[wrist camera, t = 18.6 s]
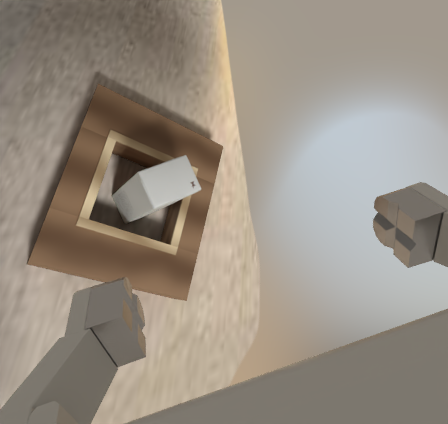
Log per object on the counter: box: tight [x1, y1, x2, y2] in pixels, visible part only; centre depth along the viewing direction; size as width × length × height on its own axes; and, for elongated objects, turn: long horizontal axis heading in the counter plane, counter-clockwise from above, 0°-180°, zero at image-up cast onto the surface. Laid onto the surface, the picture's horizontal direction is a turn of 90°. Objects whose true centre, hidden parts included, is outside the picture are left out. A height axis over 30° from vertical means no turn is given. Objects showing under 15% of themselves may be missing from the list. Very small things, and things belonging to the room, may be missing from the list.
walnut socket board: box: [27, 84, 223, 301], centre depth 42 cm, size 22×18×4 cm
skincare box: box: [112, 155, 201, 224], centre depth 39 cm, size 6×4×12 cm
